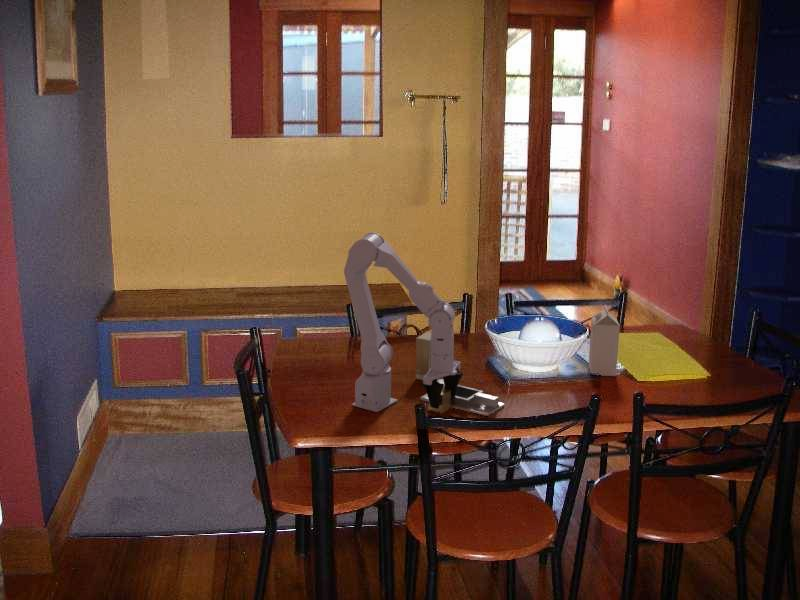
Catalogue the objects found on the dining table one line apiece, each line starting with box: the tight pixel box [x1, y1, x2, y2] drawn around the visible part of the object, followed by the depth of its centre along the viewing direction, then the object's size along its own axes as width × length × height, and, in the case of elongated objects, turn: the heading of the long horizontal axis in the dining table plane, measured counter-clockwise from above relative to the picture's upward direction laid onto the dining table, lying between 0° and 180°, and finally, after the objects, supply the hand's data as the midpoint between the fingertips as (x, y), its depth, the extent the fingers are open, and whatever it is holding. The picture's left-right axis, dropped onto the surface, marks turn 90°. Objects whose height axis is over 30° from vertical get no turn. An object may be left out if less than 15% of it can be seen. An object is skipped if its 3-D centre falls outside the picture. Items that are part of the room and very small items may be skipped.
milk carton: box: [588, 304, 621, 377], centre depth 266 cm, size 7×7×19 cm
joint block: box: [428, 389, 451, 414], centre depth 239 cm, size 4×4×5 cm
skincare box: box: [415, 331, 431, 381], centre depth 261 cm, size 6×4×12 cm
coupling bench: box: [420, 378, 506, 415], centre depth 244 cm, size 9×20×4 cm, turn 55°
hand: (442, 403), depth 239 cm, fingers open, 7 cm apart
